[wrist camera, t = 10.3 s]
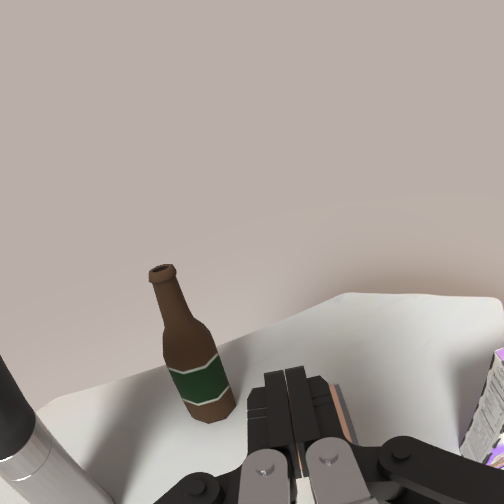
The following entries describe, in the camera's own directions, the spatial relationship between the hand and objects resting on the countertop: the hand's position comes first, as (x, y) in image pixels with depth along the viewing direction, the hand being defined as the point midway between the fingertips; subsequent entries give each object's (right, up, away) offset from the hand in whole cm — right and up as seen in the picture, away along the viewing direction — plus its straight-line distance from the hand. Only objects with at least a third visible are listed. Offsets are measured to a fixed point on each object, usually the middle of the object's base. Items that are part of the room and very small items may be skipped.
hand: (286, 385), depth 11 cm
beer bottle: (-7, -19, +33) cm, 39 cm away
